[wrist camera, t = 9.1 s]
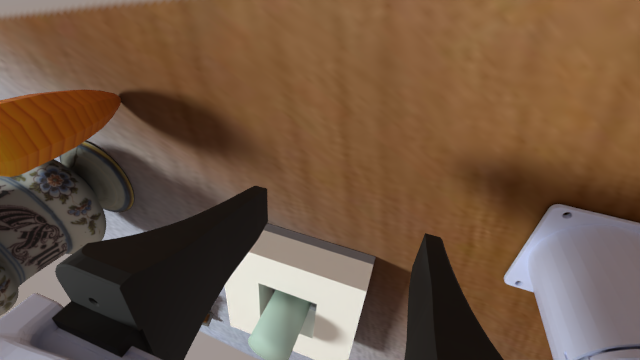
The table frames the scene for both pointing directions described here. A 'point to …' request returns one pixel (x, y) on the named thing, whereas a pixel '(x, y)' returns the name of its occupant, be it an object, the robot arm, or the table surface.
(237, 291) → the socket block
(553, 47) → the table surface
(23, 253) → the apothecary jar
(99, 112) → the carrot
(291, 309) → the peg
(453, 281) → the robot arm
